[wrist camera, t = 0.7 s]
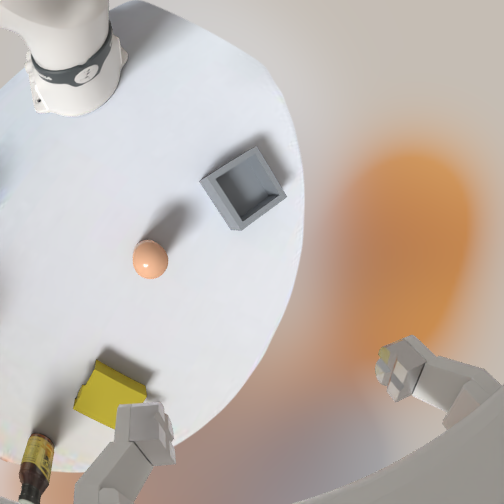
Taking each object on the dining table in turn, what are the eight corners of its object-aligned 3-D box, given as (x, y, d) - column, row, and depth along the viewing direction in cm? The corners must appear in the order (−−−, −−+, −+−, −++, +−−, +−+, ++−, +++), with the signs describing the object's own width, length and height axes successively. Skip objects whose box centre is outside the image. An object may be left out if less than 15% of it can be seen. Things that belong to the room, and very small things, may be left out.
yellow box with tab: (138, 460, 40) (63, 427, 34) (134, 435, 47) (68, 403, 42) (177, 406, 42) (96, 366, 37) (170, 384, 49) (100, 346, 44)
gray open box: (199, 181, 48) (206, 177, 43) (245, 152, 50) (256, 145, 46) (230, 229, 51) (241, 230, 46) (273, 198, 53) (287, 196, 49)
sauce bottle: (55, 454, 39) (48, 521, 21) (30, 446, 37) (17, 510, 19) (54, 435, 39) (44, 504, 21) (28, 426, 37) (10, 492, 19)
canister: (126, 251, 44) (125, 257, 37) (151, 233, 45) (154, 235, 39) (144, 276, 46) (147, 285, 39) (168, 257, 47) (175, 264, 40)
